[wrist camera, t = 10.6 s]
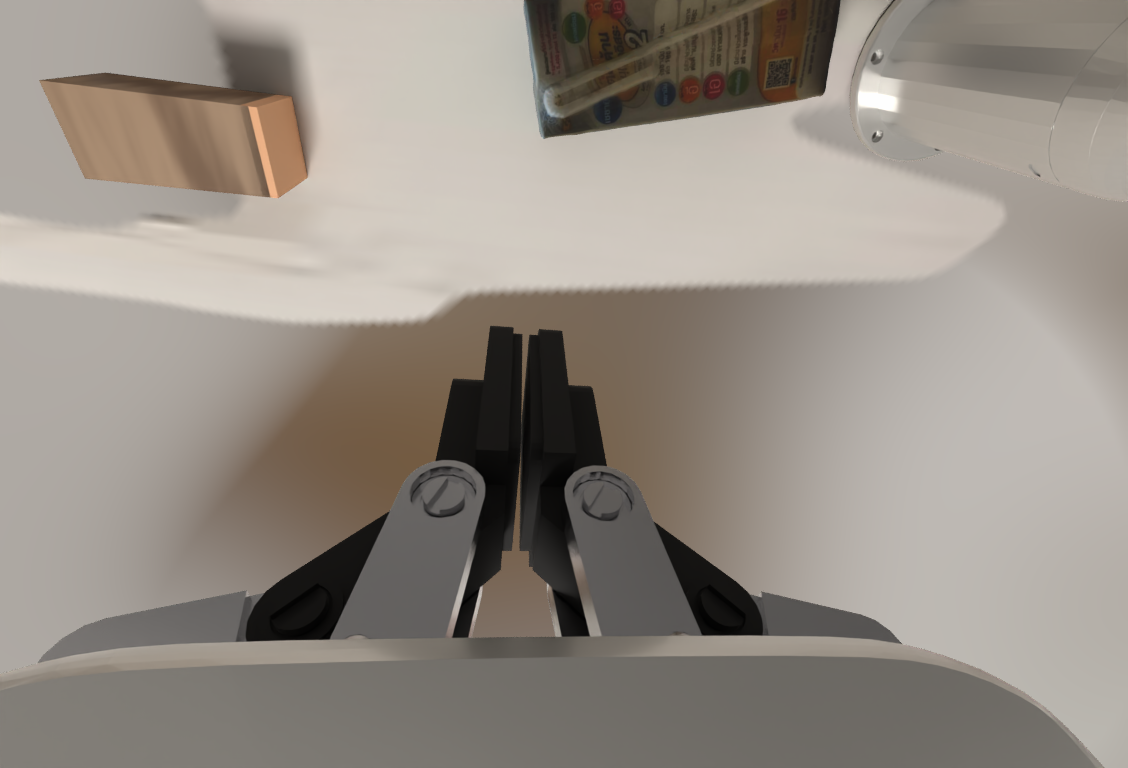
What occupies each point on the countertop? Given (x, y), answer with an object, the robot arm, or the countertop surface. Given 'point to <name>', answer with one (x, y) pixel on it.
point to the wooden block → (179, 134)
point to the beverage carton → (672, 58)
